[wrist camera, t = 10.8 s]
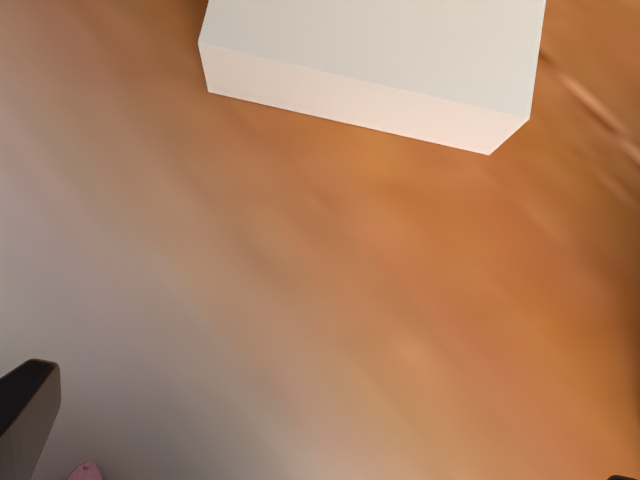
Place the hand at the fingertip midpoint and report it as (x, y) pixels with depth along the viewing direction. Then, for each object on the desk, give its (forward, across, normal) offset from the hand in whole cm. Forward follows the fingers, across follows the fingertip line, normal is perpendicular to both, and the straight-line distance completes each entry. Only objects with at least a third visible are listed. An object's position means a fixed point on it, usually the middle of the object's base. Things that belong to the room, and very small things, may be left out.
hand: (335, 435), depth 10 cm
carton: (+21, 0, -1) cm, 21 cm away
